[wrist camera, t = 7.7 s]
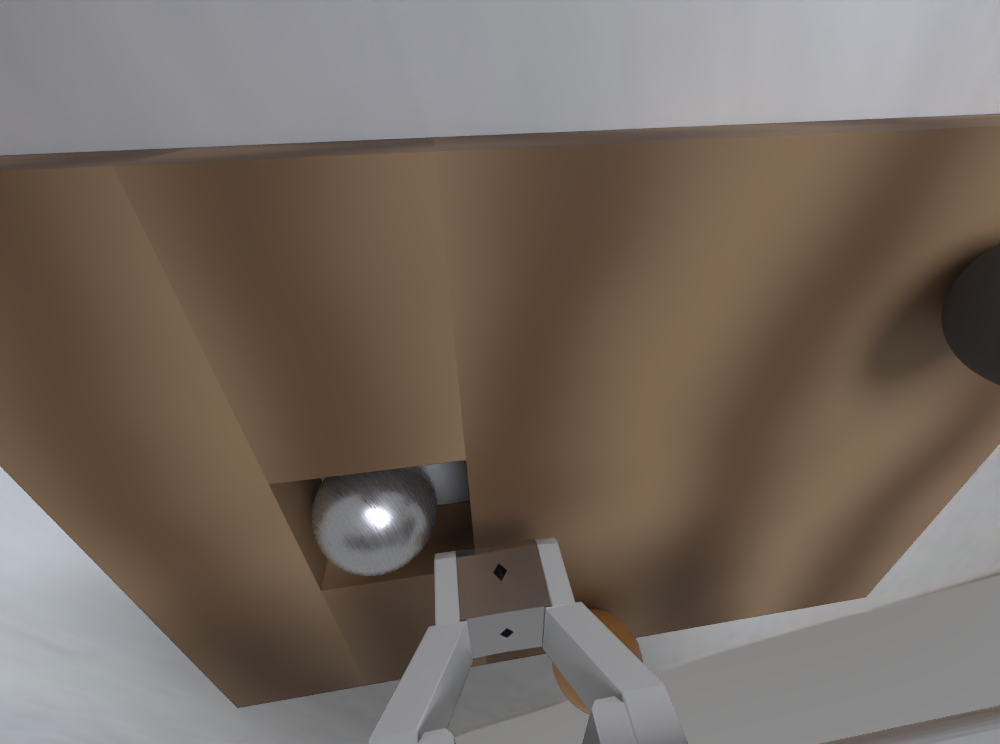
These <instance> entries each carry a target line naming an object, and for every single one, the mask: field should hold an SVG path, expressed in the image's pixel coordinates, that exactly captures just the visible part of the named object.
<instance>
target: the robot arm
mask: <svg viewBox="0 0 1000 744" xmlns="http://www.w3.org/2000/svg"><path fill="white" fill-rule="evenodd" d="M434 579H435V625H434V626H429V627H428V629H427V631H426V633H425V635H424V637H423V639H422V640H421V642H420V644H419V646H418V648H417V650H416V652H415V654H414V655H413V657H412V659H411V661H410V663H409V665H408V667H407V669H406V671H405V672H404V674H403V676H402V678H401V680H400V682H399V684H398V686H397V687H396V689H395V691H394V693H393V695H392V697H391V699H390V701H389V702H388V704H387V706H386V708H385V710H384V712H383V714H382V716H381V718H380V719H379V721H378V723H377V725H376V727H375V729H374V731H373V733H372V734H371V736H370V738H369V740H368V744H455V739H454V735H453V734H452V733H451V732H450V731H448V730H447V727H448V725H449V722H450V720H451V717H452V714H453V712H454V709H455V706H456V704H457V701H458V699H459V696H460V693H461V691H462V688H463V686H464V683H465V680H466V678H467V675H468V672H469V670H470V667H471V665H472V662H473V660H472V659H473V658H478V657H483V656H488V655H493V654H498V653H503V652H507V650H508V651H515V650H522V649H528V648H535V647H542V646H543V650H544V651H545V652H546V654H547V655H548V656H549V657H550V659H551V660H552V661H553V663H554V664H555V665H556V667H557V668H558V669H559V671H560V672H561V673H562V675H563V676H564V677H565V679H566V680H567V681H568V683H569V684H570V685H571V687H572V688H573V689H574V690H575V692H576V693H577V694H578V696H579V697H580V698H581V700H582V701H583V702H584V704H585V705H586V706H587V708H588V709H589V710H590V712H591V713H590V716H589V720H588V724H587V728H586V732H585V735H584V739H583V743H582V744H688V742H687V739H686V737H685V734H684V732H683V729H682V727H681V725H680V722H679V720H678V717H677V714H676V712H675V709H674V707H673V704H672V702H671V699H670V697H669V695H668V692H667V690H666V687H665V685H664V684H663V683H662V682H661V681H660V680H659V679H658V678H657V677H656V676H655V675H654V674H653V673H652V672H651V671H650V670H649V669H648V668H647V667H646V666H645V665H644V664H643V663H642V662H641V661H640V660H639V659H638V658H637V657H636V656H635V655H634V654H633V653H632V652H631V651H630V650H629V649H628V648H627V647H626V646H625V645H624V644H623V643H622V642H621V641H620V640H619V639H618V638H617V637H616V636H615V635H614V634H613V633H612V632H611V631H610V630H609V629H608V628H607V627H606V626H605V625H604V624H603V623H602V622H601V621H600V620H599V619H598V618H597V617H596V616H595V615H594V614H593V613H592V612H591V611H590V610H589V609H588V608H587V607H586V606H585V605H584V604H583V603H582V602H575V600H574V596H573V593H572V590H571V586H570V583H569V579H568V576H567V573H566V569H565V566H564V562H563V559H562V556H561V552H560V549H559V545H558V542H557V540H556V539H555V537H554V536H552V537H545V538H539V539H530V540H524V541H518V542H511V543H505V544H499V545H495V546H488V547H481V548H474V549H467V550H460V551H451V552H444V553H438V554H435V560H434ZM821 744H1000V705H999V706H994V707H990V708H985V709H980V710H976V711H971V712H966V713H962V714H957V715H953V716H948V717H943V718H938V719H934V720H929V721H925V722H919V723H915V724H911V725H905V726H901V727H896V728H891V729H887V730H882V731H878V732H873V733H868V734H863V735H859V736H854V737H850V738H845V739H840V740H835V741H831V742H826V743H821Z"/></svg>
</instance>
